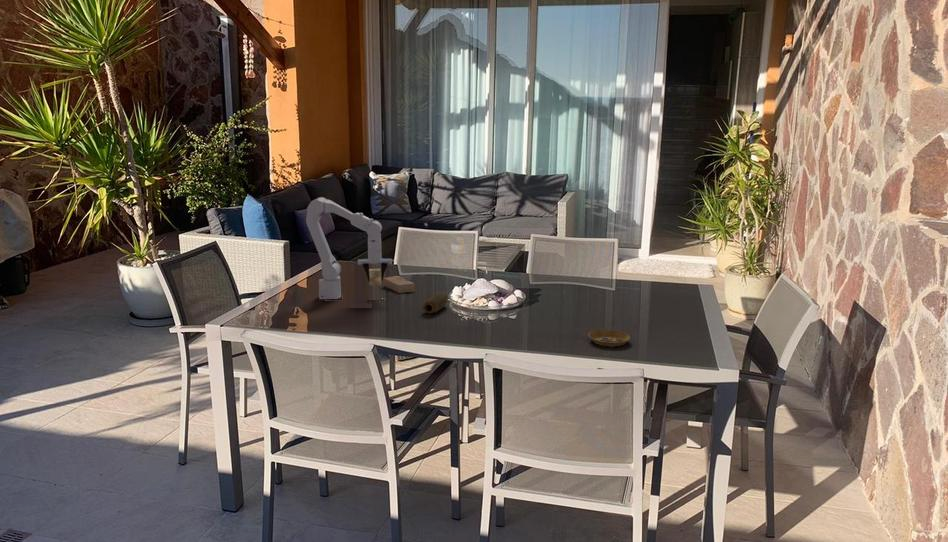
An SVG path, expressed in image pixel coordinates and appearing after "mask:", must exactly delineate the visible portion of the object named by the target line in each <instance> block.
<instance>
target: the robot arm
mask: <svg viewBox="0 0 948 542" xmlns="http://www.w3.org/2000/svg"><path fill="white" fill-rule="evenodd" d="M306 209H307V213H306V218H305V223H306V225H307V228H308V230H309V233H310V235H311V238H312V240H313V243H314V245H315V248H316V251H317V253H318V256H319V259H320V267H321V270H322V271H321V275H322V277H323V278H321V279H320V278H319V279H318V298H319V299H338V298H340V297H341V295H342V292H341V291H342V287H341V286H342V285H341V284H342V283H341V281H342V280H341V275H340V274H341V272H342V267H341V266H342V265H341V264H340V263H339V262H338V261H337V260H336V258H335V256H334V255H333V254H332V252H331V248H330V246H329V244H328V240H327V239H326V236H325V233H324V231H323V229H322V226H321V223H320V221H321V218H322V216H323V214H330V213H331V214H332V213H333V214H336V215H338V216H339V217H342V218H345V219H346V220H348V221H350V224H351V226H353V227H356V228H358V229H360V230H361V231H364V232H365V233H366V234H367V257H368V258H363V259H362V258H361V259H357V265H358V266H361V265H362V267H363V269H364V271H365V274H366V277H367V282H369V281H370V278H369V269H370V265H380V267H381V268H380V269H381V282H382V281H383V282H384V280H383V279H384V275H385V272H386V270H387V267H388V264H389V265H392V264H393V259H392V258H383V257H382V255H383V254H382V233H381V231H382V230H383V225H382V223H381V222H379V221H378V220H374V218H372V217H371V218H369V217H367V216H366V215H364V213H363V212H355V213H353V212H352V211H350V210H349V209H347V208H345V207H342V206H341V205H339V204H338V203H336V202H335V201H333V200H331V199H327V198H326V197H322V196H320V197H317V198H315V199H313V200H311V201H310V203H309V204H308V206H307V207H306ZM322 296H323V297H322Z"/></svg>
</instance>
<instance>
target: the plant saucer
mask: <svg viewBox="0 0 948 542" xmlns="http://www.w3.org/2000/svg"><path fill="white" fill-rule="evenodd" d="M588 337H589V339H591V341H592V342H593V343H595V344H596V345H598V344H599V346H601V345H602V346H603V347H607V346H609V347H610V348H611V347H612V348H614V347H615V346H617V347H621V345H622V346H624V345H625V344H626V343H628V341H629V340H630V339H631V337H630V334H628V333H625V332H624V331H619V330H614V329H596V330H592V331H590V332H589V333H588ZM605 337H606V338H608V339H609V340H610V339H612V338H613V339H612V340H611V341H614V342H604V341H600V340H602V339H603V338H605ZM616 338H617V339H621V340H623V342H615V341H617V340H616ZM609 347H608V348H609ZM615 348H616V347H615Z"/></svg>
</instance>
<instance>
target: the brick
mask: <svg viewBox="0 0 948 542" xmlns="http://www.w3.org/2000/svg"><path fill="white" fill-rule="evenodd" d="M383 286H386V287H388V288H390V289H392V290H394V291H393V292H395V291H396V292H395V293H398V294H403V293H405V292H410V291H415V292H416V290H415V289H416V287H415V282H413V281H410V280H406V278H403V277H402V276H401V275H400V276H399V275H393V276H388V277H383ZM386 287H385V288H386ZM388 288H387V289H388ZM390 289H389V290H390ZM392 290H391V291H392Z"/></svg>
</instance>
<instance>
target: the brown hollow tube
mask: <svg viewBox="0 0 948 542" xmlns="http://www.w3.org/2000/svg"><path fill="white" fill-rule="evenodd" d="M448 298H449V297H448V295H447V293H445V292H442V291H438V292H436V293H435V294H433V295H432V296H431V297H428V299H427V300H426V301H425V302H424V303H423V304H422V310H423V312H424V313H426V314H435V313H438V312H439V311H440V310H441V309H443V308H444V307H445V306H446V305H447V303H448Z"/></svg>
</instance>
